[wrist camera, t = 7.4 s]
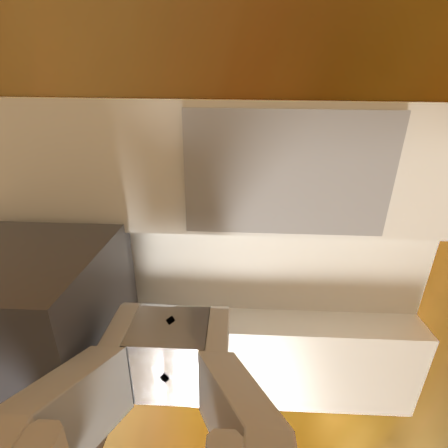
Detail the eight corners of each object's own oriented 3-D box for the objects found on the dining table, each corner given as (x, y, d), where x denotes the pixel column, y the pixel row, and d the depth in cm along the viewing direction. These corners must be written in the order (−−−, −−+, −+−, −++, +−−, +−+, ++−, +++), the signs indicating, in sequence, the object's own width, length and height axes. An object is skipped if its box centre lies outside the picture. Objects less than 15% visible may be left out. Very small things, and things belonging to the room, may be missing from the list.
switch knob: (140, 205, 11) (47, 310, 5) (152, 319, 13) (91, 478, 7) (2, 202, 11) (-219, 300, 6) (34, 315, 13) (-108, 467, 8)
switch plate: (451, 102, 11) (533, 103, 8) (380, 358, 15) (414, 421, 12) (-301, 92, 12) (-485, 91, 9) (-154, 338, 16) (-241, 391, 13)
